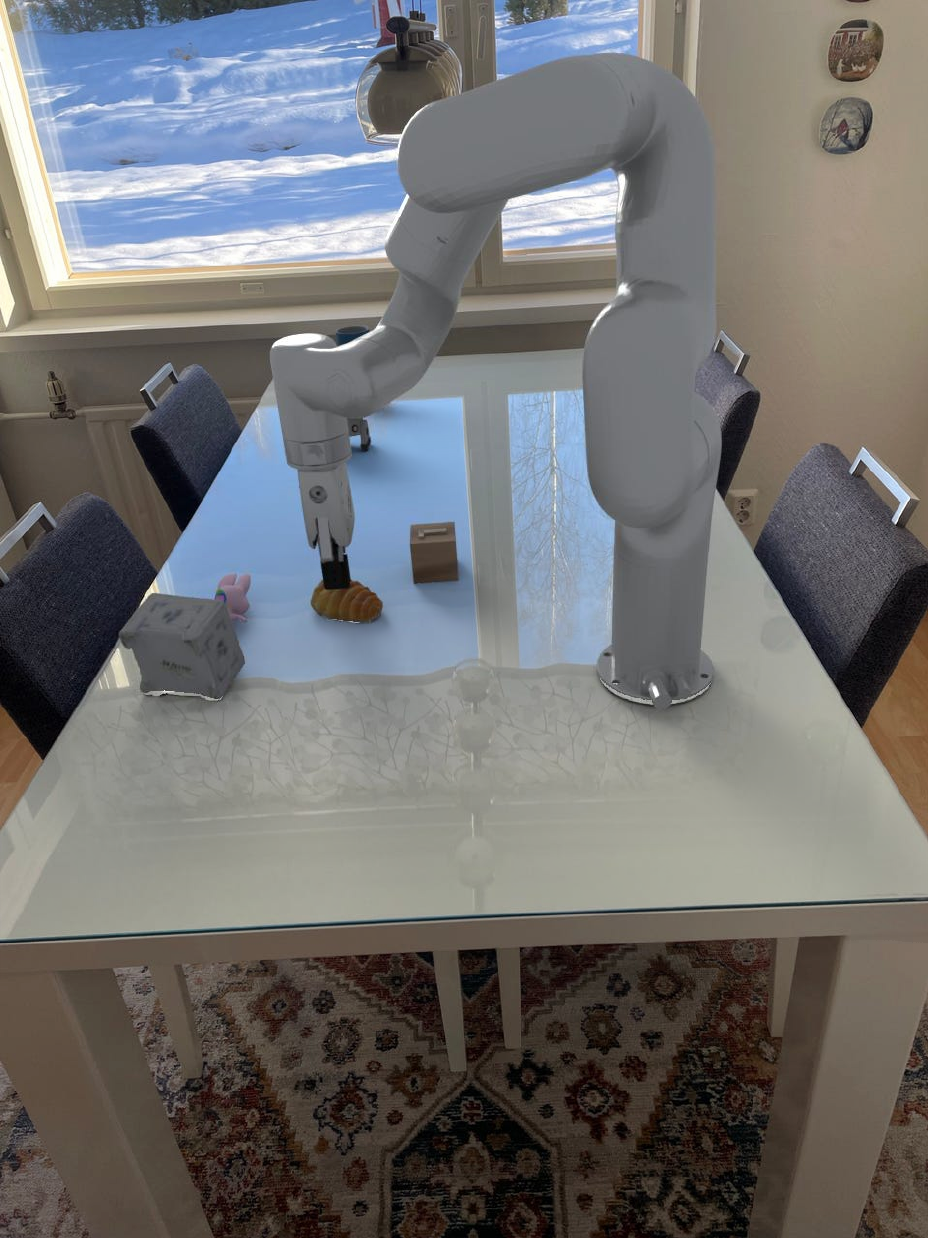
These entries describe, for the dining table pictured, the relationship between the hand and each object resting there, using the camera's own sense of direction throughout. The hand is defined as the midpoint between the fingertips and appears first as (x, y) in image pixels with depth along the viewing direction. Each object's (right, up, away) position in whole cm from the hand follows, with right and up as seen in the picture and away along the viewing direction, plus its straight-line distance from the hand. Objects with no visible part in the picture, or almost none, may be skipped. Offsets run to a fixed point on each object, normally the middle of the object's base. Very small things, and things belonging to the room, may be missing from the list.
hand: (337, 585), depth 117 cm
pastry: (+1, -3, +4) cm, 5 cm away
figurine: (-6, +28, +56) cm, 63 cm away
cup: (-6, +41, +78) cm, 88 cm away
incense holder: (-15, -12, -10) cm, 22 cm away
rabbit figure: (-14, -5, +3) cm, 15 cm away
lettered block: (+12, +2, +11) cm, 16 cm away
